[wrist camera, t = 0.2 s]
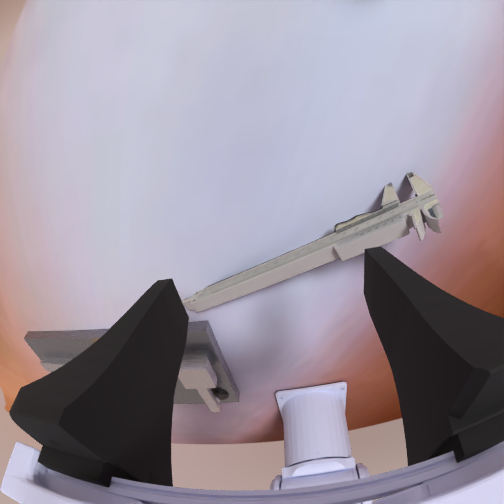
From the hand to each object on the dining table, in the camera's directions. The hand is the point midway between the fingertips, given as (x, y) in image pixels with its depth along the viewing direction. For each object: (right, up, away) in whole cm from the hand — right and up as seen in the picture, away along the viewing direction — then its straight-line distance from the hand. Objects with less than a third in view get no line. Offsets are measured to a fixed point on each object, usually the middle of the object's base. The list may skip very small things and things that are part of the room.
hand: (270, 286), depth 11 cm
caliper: (+2, +2, +11) cm, 11 cm away
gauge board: (-15, -12, +19) cm, 27 cm away
